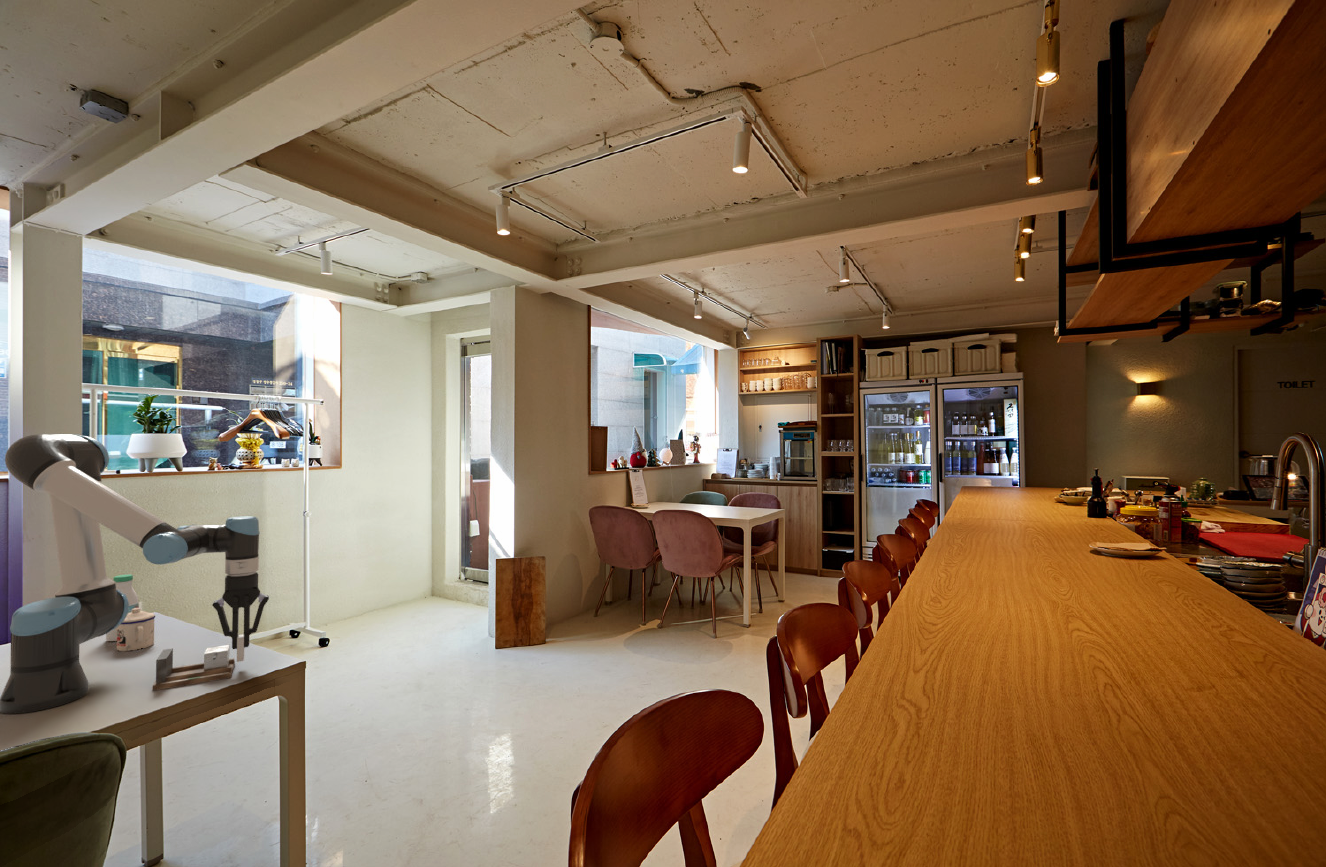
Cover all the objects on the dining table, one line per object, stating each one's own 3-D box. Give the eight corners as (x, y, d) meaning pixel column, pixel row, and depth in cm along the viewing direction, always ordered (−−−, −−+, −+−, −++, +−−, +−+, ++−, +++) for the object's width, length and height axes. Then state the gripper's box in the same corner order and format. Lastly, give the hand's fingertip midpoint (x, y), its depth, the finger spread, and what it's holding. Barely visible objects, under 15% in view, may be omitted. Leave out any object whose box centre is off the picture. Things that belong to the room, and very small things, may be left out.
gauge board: (152, 690, 151) (152, 661, 151) (161, 676, 160) (161, 648, 160) (230, 677, 159) (231, 650, 159) (234, 664, 169) (235, 638, 169)
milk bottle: (109, 644, 186) (109, 579, 187) (103, 639, 191) (104, 576, 192) (141, 637, 193) (142, 575, 193) (134, 633, 197) (135, 572, 198)
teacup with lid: (112, 647, 183) (113, 609, 183) (151, 640, 190) (151, 603, 190) (120, 656, 176) (121, 616, 176) (160, 648, 183) (161, 609, 183)
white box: (202, 677, 156) (202, 657, 156) (206, 666, 163) (206, 648, 163) (225, 673, 158) (226, 654, 158) (229, 663, 166) (229, 644, 166)
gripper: (210, 578, 159) (209, 668, 158) (269, 573, 165) (268, 659, 165) (214, 573, 165) (212, 659, 165) (270, 568, 172) (269, 651, 171)
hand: (240, 659), depth 165 cm, fingers closed
